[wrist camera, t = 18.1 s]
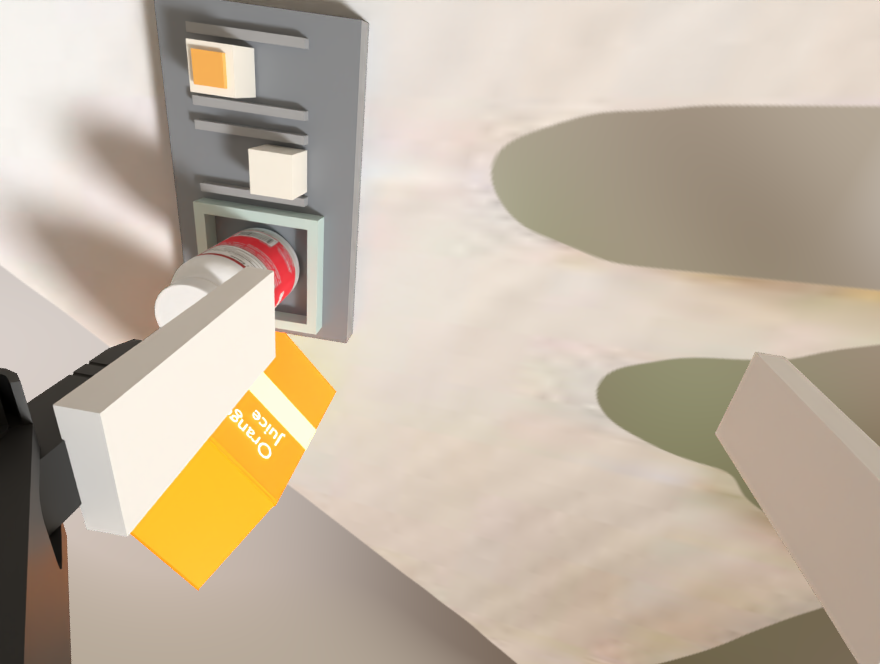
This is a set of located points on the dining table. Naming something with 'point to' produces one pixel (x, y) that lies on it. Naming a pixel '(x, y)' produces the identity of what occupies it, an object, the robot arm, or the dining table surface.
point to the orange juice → (238, 468)
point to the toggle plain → (278, 171)
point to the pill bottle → (229, 270)
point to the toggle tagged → (221, 69)
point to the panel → (276, 123)
